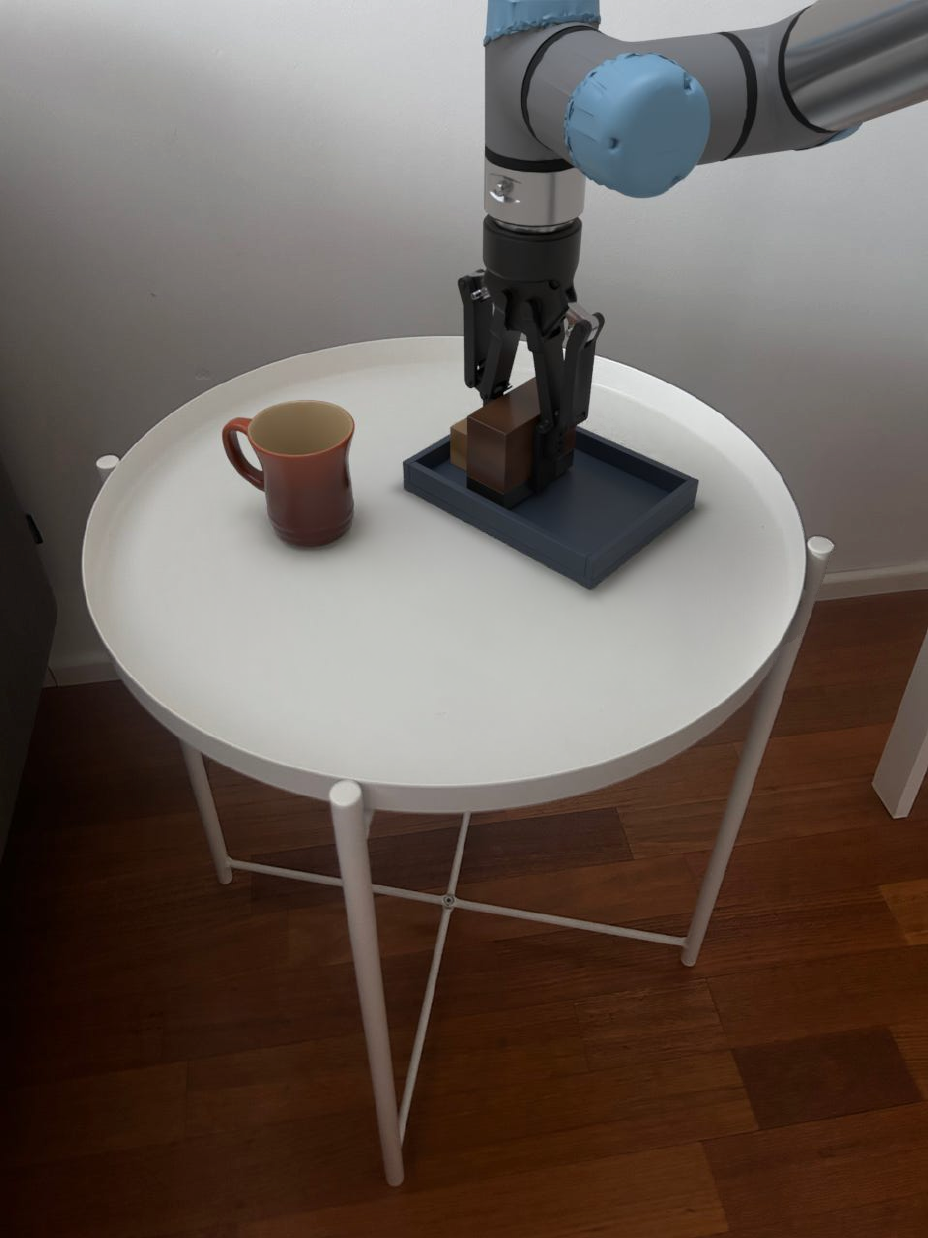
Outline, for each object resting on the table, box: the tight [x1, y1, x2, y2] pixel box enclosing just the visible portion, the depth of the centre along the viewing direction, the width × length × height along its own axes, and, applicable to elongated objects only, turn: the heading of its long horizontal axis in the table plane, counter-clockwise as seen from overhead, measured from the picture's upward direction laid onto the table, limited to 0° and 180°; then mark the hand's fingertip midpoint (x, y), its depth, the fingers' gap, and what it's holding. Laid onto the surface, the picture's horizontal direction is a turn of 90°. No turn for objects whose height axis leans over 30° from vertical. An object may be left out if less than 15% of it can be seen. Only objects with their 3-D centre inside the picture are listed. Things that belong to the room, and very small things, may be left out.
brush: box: [466, 376, 576, 510], centre depth 90 cm, size 10×4×8 cm, turn 138°
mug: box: [221, 399, 356, 548], centre depth 86 cm, size 12×9×10 cm
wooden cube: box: [449, 416, 467, 471], centre depth 94 cm, size 4×4×4 cm
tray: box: [402, 425, 700, 591], centre depth 91 cm, size 22×16×3 cm
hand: (520, 473), depth 92 cm, fingers closed on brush, 4 cm apart
